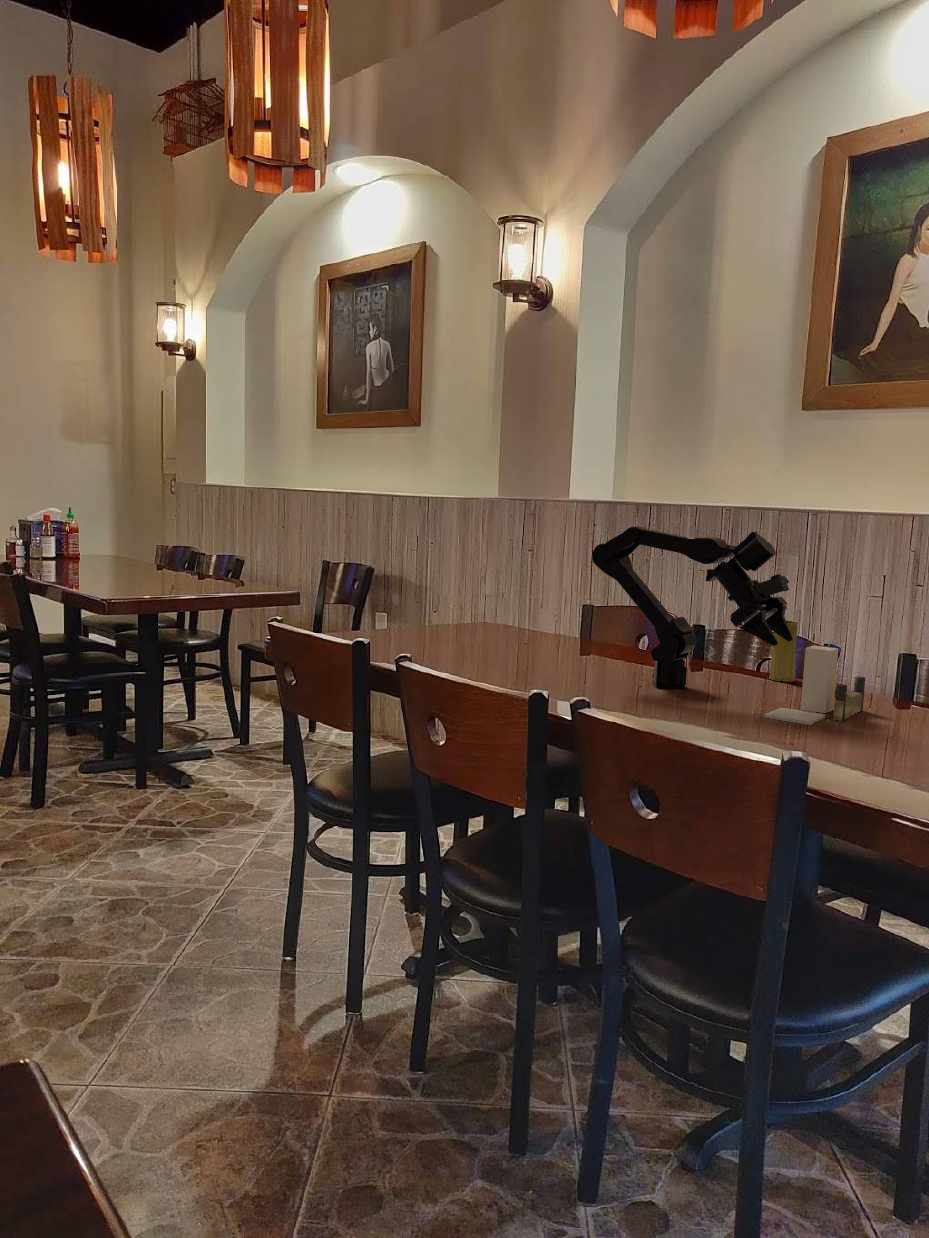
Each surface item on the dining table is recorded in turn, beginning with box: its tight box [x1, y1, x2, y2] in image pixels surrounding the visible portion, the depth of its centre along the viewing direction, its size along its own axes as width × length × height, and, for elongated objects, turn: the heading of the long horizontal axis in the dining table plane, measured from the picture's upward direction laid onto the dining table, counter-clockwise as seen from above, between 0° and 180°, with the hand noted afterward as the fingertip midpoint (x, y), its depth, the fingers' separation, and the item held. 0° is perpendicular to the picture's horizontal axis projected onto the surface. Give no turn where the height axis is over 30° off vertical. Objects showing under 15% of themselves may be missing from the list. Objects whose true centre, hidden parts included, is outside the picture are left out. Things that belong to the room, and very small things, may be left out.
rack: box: [832, 676, 866, 722], centre depth 189 cm, size 2×14×7 cm, turn 141°
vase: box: [768, 620, 799, 683], centre depth 226 cm, size 6×6×14 cm
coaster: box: [764, 707, 827, 726], centre depth 185 cm, size 9×9×1 cm
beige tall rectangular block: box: [800, 645, 839, 714], centre depth 192 cm, size 5×5×13 cm
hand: (783, 642), depth 197 cm, fingers open, 9 cm apart
